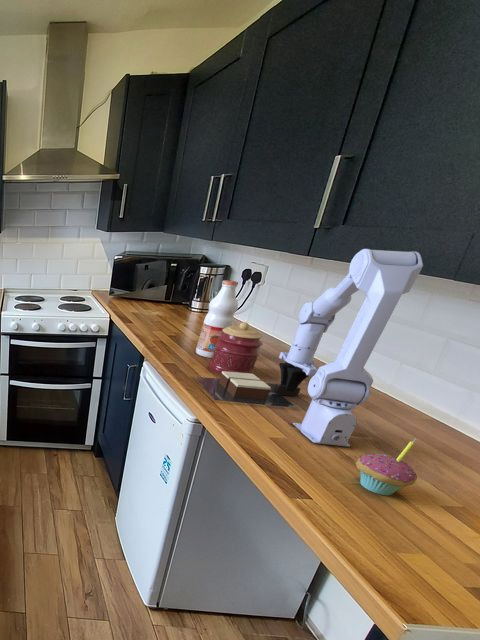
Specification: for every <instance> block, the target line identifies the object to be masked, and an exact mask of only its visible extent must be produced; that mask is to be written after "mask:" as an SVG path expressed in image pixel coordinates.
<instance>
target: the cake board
mask: <svg viewBox="0 0 480 640" xmlns="http://www.w3.org/2000/svg"><path fill="white" fill-rule="evenodd" d="M193 378H194V380H195V381H196V382H197V383H198V384H199V385H200V386H201V387H202V388H203V389H204V390H205V391H206V392H207V394H209V395H210V397H211V398H212V399H213V400H214V401H216V402H217V401H219V402H227V403H239V404H248V405H249V404H250V405H260V406H271V407H282V408H293V409H298V406H296V405H295V404H293V403H292V402H291V401H290V400H288V399H287V398H286V397H284V395H281V394H275V393H270V392H269V395H268V397H267V400H261V399H250V398H239V397H233V396H232V395H231V394H230V393H229V392H228V391H227V389H225V388H224V387H223V386H222V385H221V384H220V383H219V380H220V378H216V377H214V378H213V377H205V376H203V377H202V376H193Z"/></svg>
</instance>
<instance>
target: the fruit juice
mask: <svg viewBox="0 0 480 640" xmlns="http://www.w3.org/2000/svg"><path fill="white" fill-rule="evenodd" d="M238 285H239V282H238V281H236V280H229V279H228V280H227V279H223V280H222V282H221V288H220V290H219V291H218V293H217V294H216V295H215V296H214V297H213V298H212V299H210V301H209V304H208V311H207V313H206V315H205V317H204V320H203V322H202V327H201V330H200V333H199V336H198V341H197V344H196V348H195V354H196V355H198V356H200V357H203V358H208V359H211V358H212V355H213V352H214V348H215V344H216V343H217V342H218V335H219V334H222V333H223V331H222V330H223V329H224V328H227V327H229V326H234V322H235V321H234V320H235V316H234V315H235V313H236V312H237V311H238V307H239V302H238V300H237V297H236V289H237V287H238Z"/></svg>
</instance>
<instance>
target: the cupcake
mask: <svg viewBox="0 0 480 640" xmlns="http://www.w3.org/2000/svg"><path fill="white" fill-rule="evenodd" d="M417 440H418V439H417V438H415V439H413V441H409V442H408V444H407V445H406V446H405V447H404V449H403V450H402V452H400V453H399V455H398V456H397V458H396V457H393V456H392V455H389V454H385V453H383V454H381V453H370V454H368V453H366V454H365V455H361V456H359V458H358V460H357V461H356V462H355V467H356V469H358V471H359V472H360V480H359V483H360V485H361V486H362V487H363V488H364V489H365V490H368V491H370V492H372V493H375V494H376V495H381V496H391V495H392V494H394V493H395V492H396V491H399V490H400V489H402V488H406V487H409V486H412V485H414V484H415V483H416V481H417V479H418V476H417V472H416V471H415V470H414V468H412V467H413V466H410V465H409V464H408V463H407V462H405V461H404V460H403V459H404V458H405V457H406V455H408V453H409V452H410V450H411V449H412V448H413V447H414V445H415V444H416V441H417Z"/></svg>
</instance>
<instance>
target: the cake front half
mask: <svg viewBox="0 0 480 640" xmlns="http://www.w3.org/2000/svg"><path fill="white" fill-rule="evenodd" d="M266 383H267V382H266ZM266 383H264V381H263V380H260V381H254V380H242V379H230V382H229V385H228V388H227V391H228V392H229V393H230V394H231V395H232V396H233V397H239V398H250V399H261V400H267V397H268V395H269V392H270V389H271V387H269V386H268V385H267V384H266Z"/></svg>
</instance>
